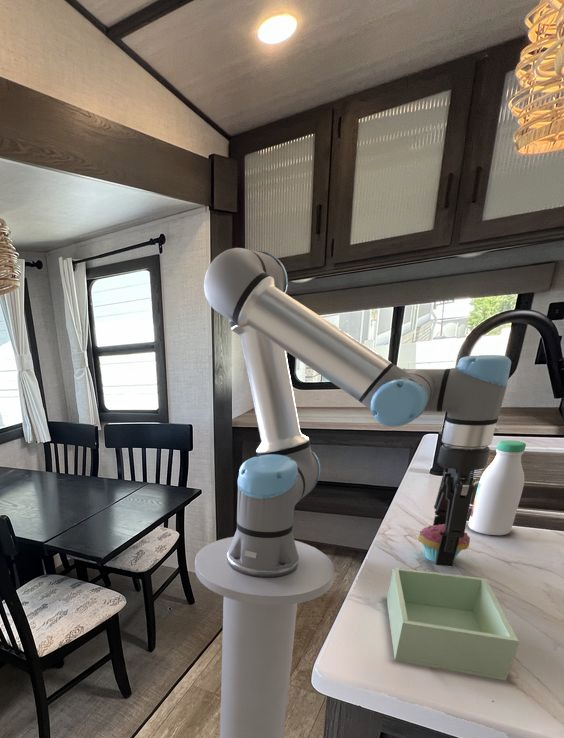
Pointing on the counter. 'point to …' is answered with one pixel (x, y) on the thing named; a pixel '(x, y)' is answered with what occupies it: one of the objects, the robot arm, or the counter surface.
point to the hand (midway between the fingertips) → (440, 554)
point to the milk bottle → (499, 491)
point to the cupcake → (438, 541)
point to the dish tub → (449, 623)
